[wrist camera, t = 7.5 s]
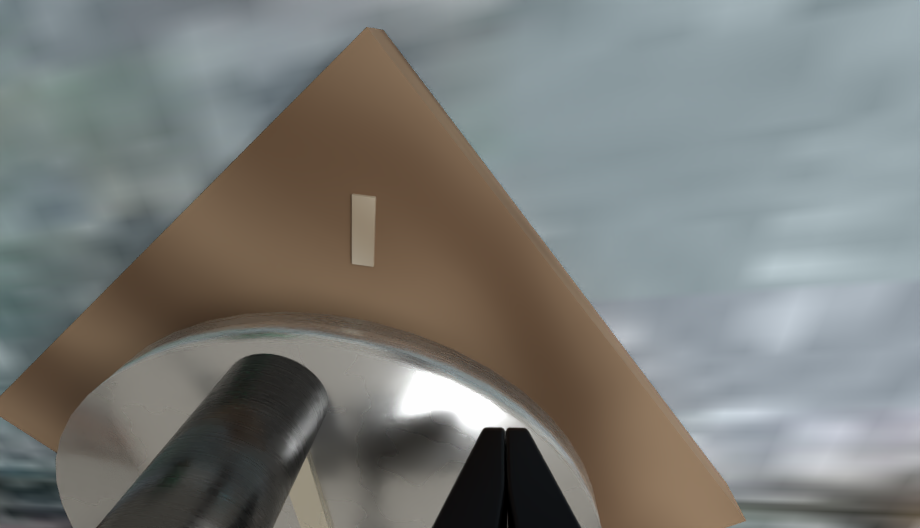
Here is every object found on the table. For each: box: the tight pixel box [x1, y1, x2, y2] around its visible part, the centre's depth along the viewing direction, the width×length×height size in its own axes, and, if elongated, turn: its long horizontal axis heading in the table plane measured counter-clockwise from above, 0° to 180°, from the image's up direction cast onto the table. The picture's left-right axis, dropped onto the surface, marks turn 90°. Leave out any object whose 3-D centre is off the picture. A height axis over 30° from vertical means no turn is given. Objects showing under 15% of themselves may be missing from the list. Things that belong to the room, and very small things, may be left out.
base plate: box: [0, 27, 746, 528], centre depth 16 cm, size 20×20×2 cm
